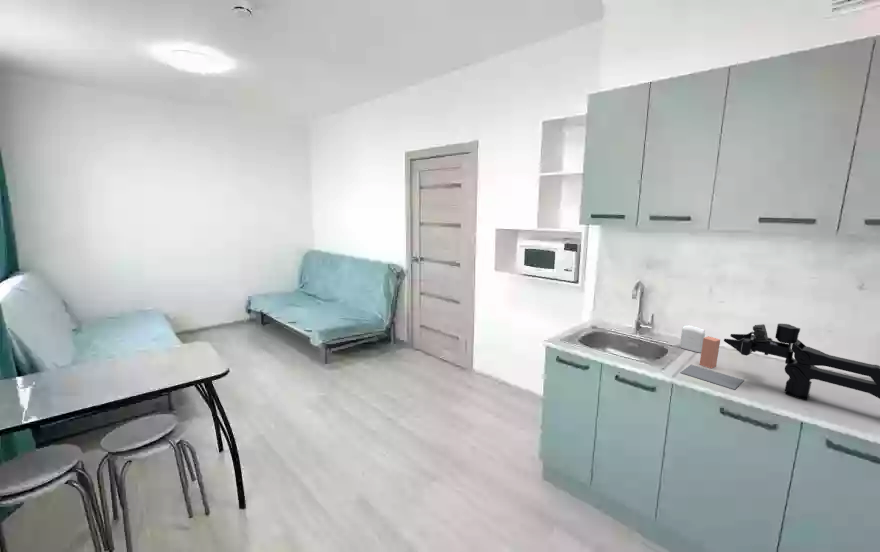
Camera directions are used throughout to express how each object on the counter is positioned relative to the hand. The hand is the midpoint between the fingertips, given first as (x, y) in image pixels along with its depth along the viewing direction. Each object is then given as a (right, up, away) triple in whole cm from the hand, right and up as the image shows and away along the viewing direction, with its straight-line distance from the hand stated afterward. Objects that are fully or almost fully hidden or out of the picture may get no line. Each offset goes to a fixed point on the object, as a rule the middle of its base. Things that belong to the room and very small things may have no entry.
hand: (727, 337), depth 172 cm
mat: (-7, -17, -1) cm, 18 cm away
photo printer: (+3, -11, +30) cm, 32 cm away
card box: (-1, -15, +11) cm, 18 cm away
